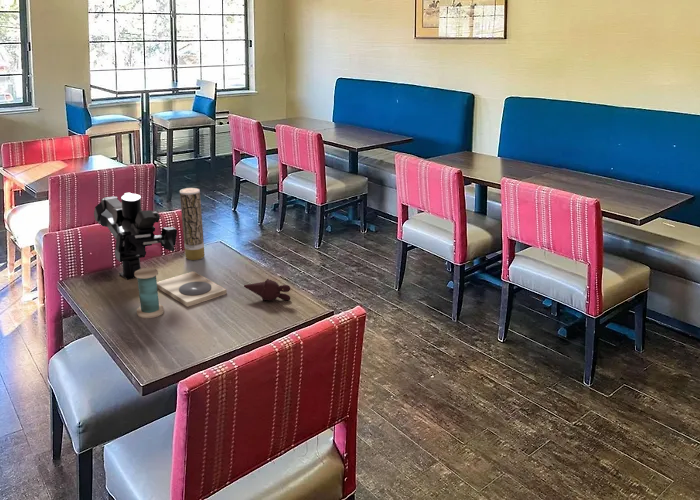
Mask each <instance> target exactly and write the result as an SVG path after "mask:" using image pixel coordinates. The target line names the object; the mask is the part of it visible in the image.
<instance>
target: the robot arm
mask: <svg viewBox="0 0 700 500" xmlns="http://www.w3.org/2000/svg"><path fill="white" fill-rule="evenodd" d="M141 197H142V196H141V195H140V194H137V193H131V192H124V194H123V195H121V197H120V199H121V201H120V200H119V198H118V196H114V195H113V196H107V197H103V198H101V201H100V202H99V203H98V204H97V205H96V206H95V207H94V212H93V216H94V219H95V222H97V224H99V225H100V224H101V225H102V226H101V225H100V226H101V227H105V228H107V229H108V230H109V231H110V233H111V234H112V236H113V237H114V239H115V240H116V241H115V249H114V254H115V255H114V256H115V259H116V260H117V261H118V262H119V263H121V265H122V271H121V272H119V273H118V274H119V275H120V276H121V277H123V278H124V279H125V280H127V281H128V280H132V279H136V277H135V276H134V273H135V271H137V270H139V269H142V267H141V260H140V259H143V258H145V257H146V255H147V251H146V247H148V246H149V247H150V246H152V245H154V244H160V246H161V247H162V248H163V249H164V250H168V251H170V252H174V251H175V246H176V243H177V242H176V241H177V235H178V230H177V229H176V227H174V226H168V227H162V228H161V231H160V232H161V233H160V234H158V235H155V233H154V232H155V231H156V227H155V226H154V225H155V224H156V223H159V222H160V219H161V215H160V213H159V212H157V211H156V210H151V209H149V210H148V209H147V210H142V199H141Z"/></svg>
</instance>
